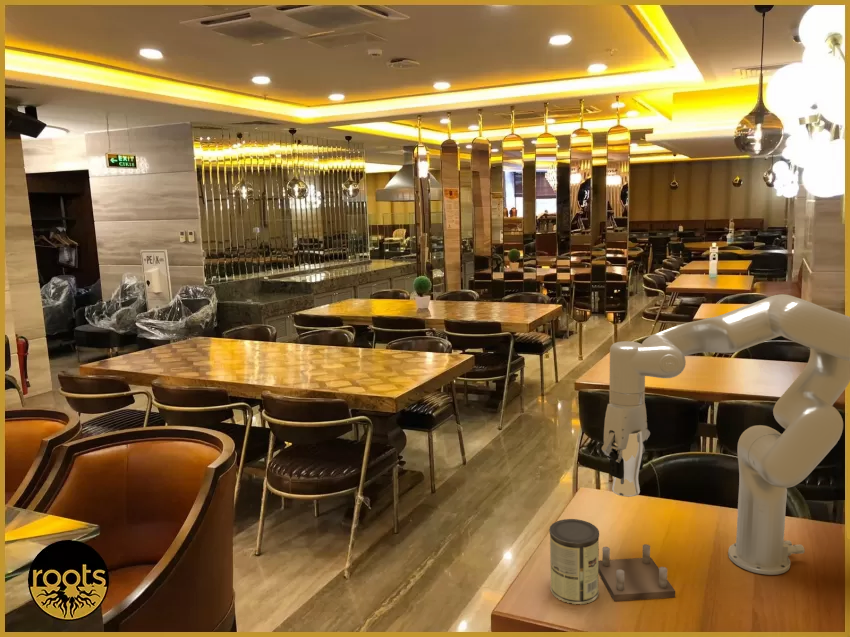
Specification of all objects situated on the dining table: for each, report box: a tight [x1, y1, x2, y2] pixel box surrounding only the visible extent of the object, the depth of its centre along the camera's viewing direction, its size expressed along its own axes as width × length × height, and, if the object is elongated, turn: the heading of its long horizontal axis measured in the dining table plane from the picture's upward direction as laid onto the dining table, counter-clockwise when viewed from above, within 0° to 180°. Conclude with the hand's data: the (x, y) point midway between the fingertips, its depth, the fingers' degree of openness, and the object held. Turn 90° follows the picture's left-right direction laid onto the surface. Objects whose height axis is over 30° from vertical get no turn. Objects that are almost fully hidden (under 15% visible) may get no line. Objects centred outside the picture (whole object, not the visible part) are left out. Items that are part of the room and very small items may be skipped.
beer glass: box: [611, 429, 643, 498], centre depth 146 cm, size 7×7×15 cm
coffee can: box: [548, 518, 600, 605], centre depth 137 cm, size 10×10×14 cm
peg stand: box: [598, 543, 676, 602], centre depth 140 cm, size 13×13×6 cm
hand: (626, 471), depth 146 cm, fingers closed on beer glass, 6 cm apart
